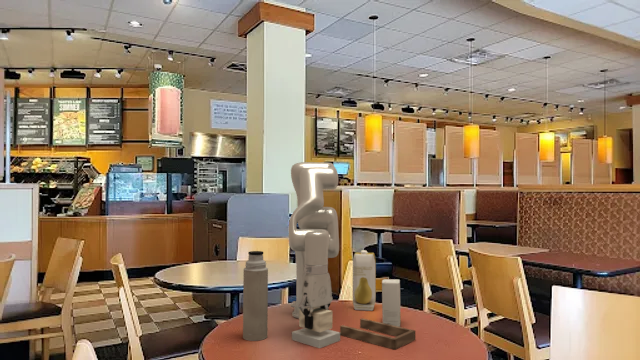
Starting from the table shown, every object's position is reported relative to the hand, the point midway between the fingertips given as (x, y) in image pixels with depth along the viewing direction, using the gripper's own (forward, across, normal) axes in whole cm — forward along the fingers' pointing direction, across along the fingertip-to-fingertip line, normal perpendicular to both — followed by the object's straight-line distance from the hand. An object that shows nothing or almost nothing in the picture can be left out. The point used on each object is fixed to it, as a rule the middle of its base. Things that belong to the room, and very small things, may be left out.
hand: (316, 325), depth 142 cm
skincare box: (+5, +32, -8) cm, 33 cm away
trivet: (+5, 0, 0) cm, 5 cm away
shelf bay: (+5, +16, -12) cm, 20 cm away
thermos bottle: (+5, -11, +17) cm, 21 cm away
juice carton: (+5, +43, +12) cm, 45 cm away
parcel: (+1, 0, 0) cm, 1 cm away
